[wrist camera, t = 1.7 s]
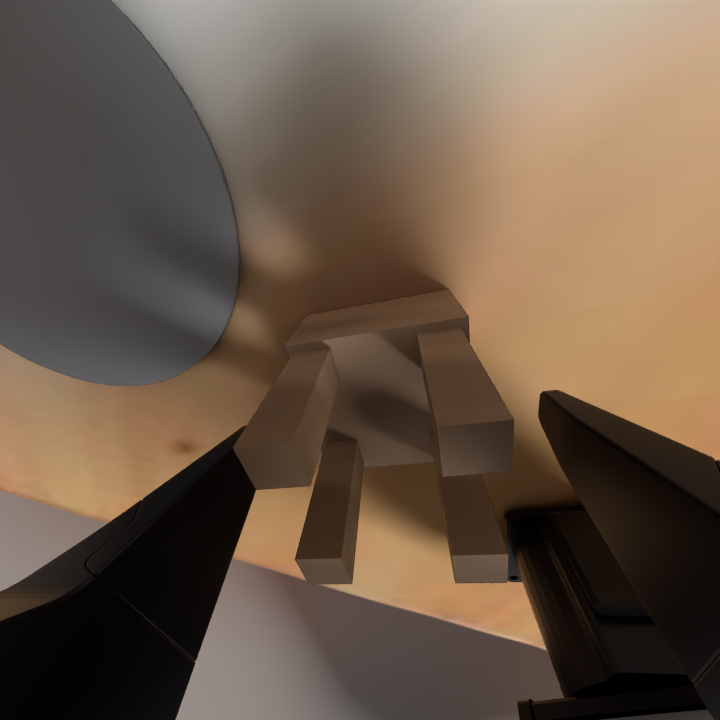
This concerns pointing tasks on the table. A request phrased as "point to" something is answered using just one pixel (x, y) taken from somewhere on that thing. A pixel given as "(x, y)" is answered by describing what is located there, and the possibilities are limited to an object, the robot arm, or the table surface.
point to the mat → (106, 201)
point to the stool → (384, 427)
